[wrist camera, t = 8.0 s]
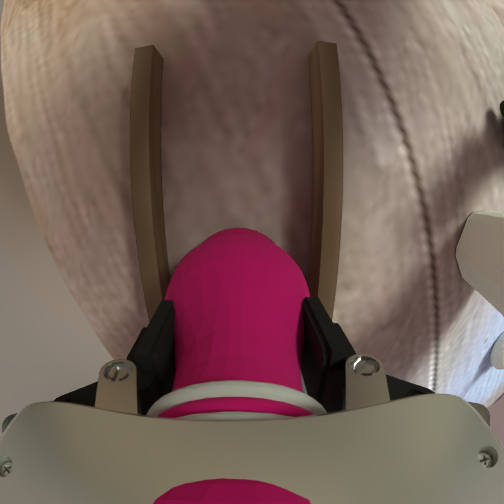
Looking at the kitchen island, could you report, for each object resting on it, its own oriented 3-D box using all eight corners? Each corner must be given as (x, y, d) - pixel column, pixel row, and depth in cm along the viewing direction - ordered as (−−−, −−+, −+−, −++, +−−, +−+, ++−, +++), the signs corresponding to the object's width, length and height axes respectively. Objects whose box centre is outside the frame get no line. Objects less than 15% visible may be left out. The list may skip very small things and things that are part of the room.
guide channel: (325, 57, 15) (357, 19, 9) (314, 364, 22) (332, 414, 16) (146, 61, 14) (114, 25, 9) (171, 368, 21) (157, 419, 16)
